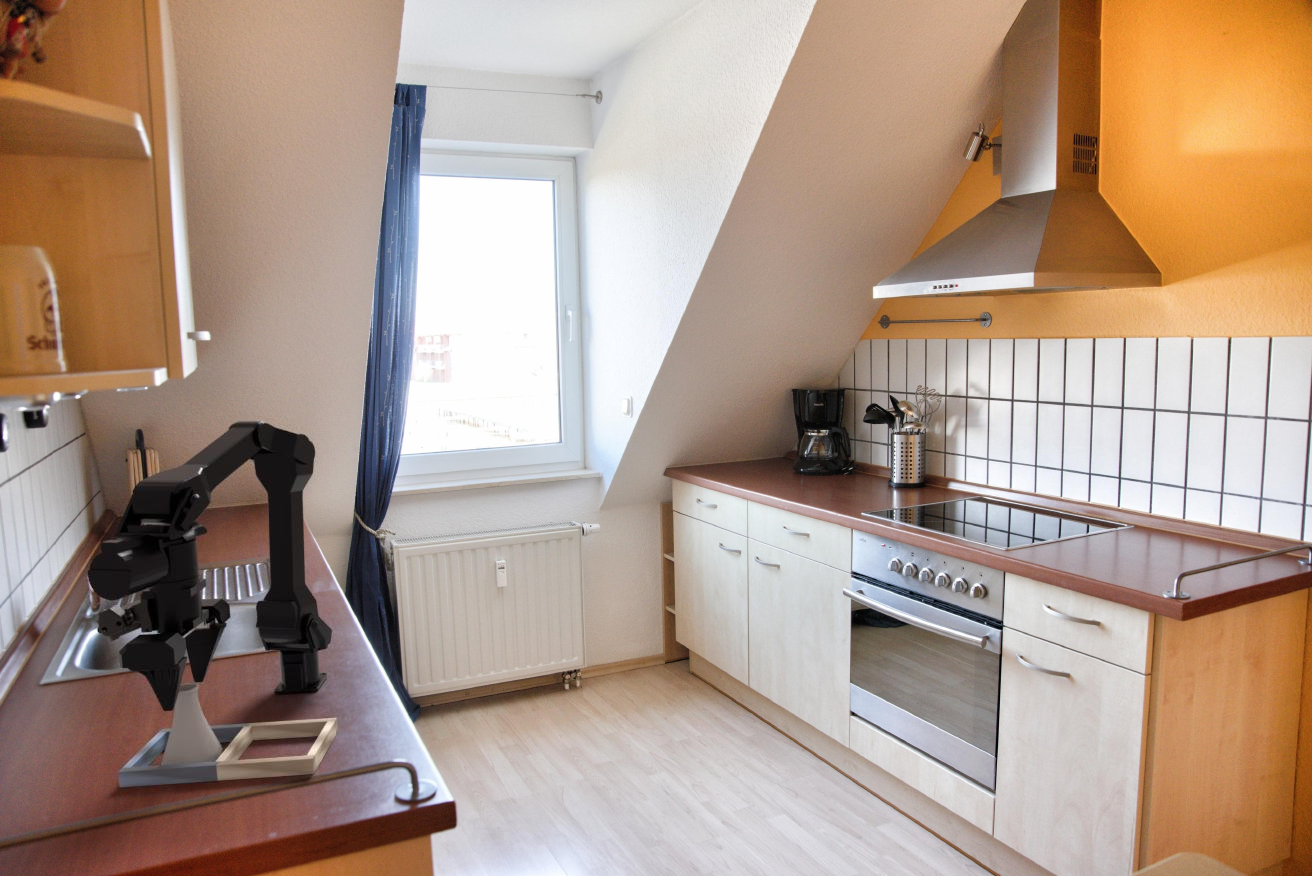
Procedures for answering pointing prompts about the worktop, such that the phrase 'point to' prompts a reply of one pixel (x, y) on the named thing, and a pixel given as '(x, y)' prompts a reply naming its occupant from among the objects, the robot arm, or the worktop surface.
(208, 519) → the worktop surface
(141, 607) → the robot arm
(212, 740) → the flask
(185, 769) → the caddy
